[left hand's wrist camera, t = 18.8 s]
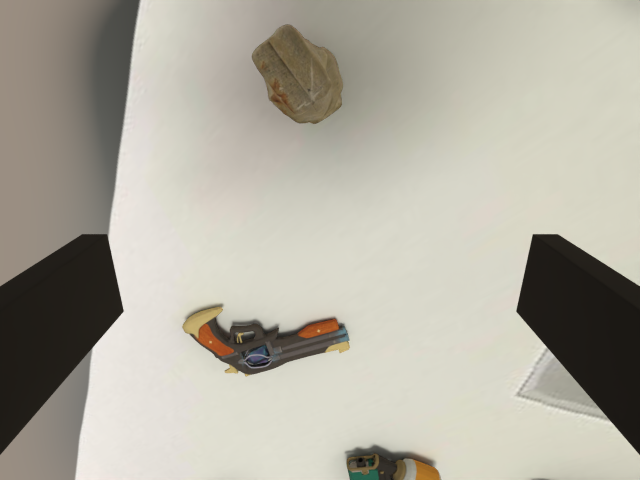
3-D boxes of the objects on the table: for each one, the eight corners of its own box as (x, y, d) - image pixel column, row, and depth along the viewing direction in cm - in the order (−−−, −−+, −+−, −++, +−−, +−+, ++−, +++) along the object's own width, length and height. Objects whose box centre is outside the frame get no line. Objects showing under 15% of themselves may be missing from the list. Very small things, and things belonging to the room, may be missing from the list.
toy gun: (176, 323, 46) (205, 394, 49) (331, 280, 46) (353, 354, 48) (183, 313, 49) (210, 381, 51) (330, 272, 48) (350, 342, 51)
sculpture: (312, 29, 37) (308, -3, 23) (351, 98, 39) (368, 106, 25) (262, 66, 38) (229, 55, 24) (302, 130, 40) (293, 155, 26)
